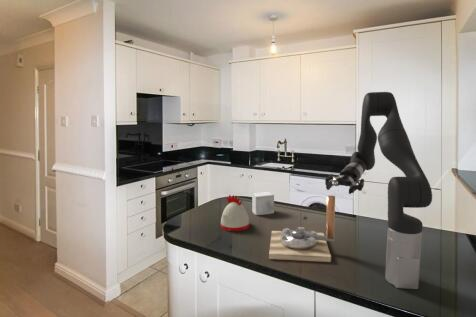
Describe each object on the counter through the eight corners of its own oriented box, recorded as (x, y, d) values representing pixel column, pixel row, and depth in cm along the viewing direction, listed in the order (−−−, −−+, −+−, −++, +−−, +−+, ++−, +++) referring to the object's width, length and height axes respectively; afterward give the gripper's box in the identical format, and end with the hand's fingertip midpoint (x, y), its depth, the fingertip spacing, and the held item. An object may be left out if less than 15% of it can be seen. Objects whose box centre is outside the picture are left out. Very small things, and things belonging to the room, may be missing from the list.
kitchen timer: (230, 218, 155) (229, 190, 153) (254, 223, 148) (254, 193, 146) (215, 228, 143) (213, 197, 141) (240, 233, 136) (239, 201, 134)
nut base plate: (330, 262, 108) (331, 256, 108) (269, 258, 111) (269, 253, 111) (323, 237, 129) (323, 232, 129) (271, 235, 133) (271, 230, 133)
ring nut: (276, 247, 116) (276, 197, 113) (284, 233, 129) (284, 188, 126) (332, 254, 109) (333, 202, 106) (335, 239, 122) (336, 192, 119)
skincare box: (256, 215, 159) (255, 196, 157) (252, 212, 165) (251, 193, 163) (274, 213, 162) (274, 194, 160) (269, 209, 168) (269, 191, 166)
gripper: (334, 163, 131) (320, 178, 119) (369, 168, 123) (357, 184, 111) (334, 179, 134) (320, 195, 122) (368, 184, 125) (357, 202, 113)
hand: (338, 189), depth 116 cm, fingers open, 8 cm apart
